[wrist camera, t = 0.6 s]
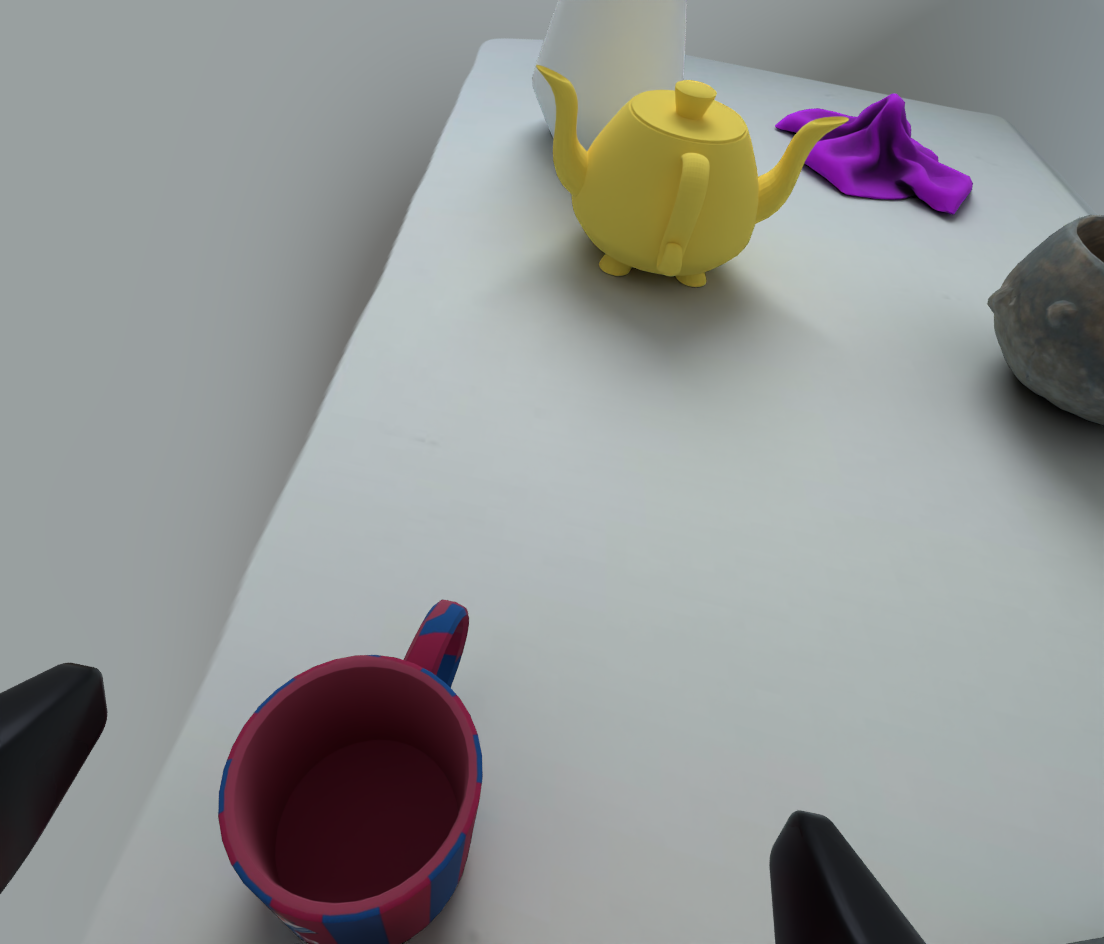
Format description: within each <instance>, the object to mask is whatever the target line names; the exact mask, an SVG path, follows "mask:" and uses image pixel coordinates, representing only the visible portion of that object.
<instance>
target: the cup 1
mask: <svg viewBox="0 0 1104 944" xmlns="http://www.w3.org/2000/svg"><path fill="white" fill-rule="evenodd" d="M468 627H469V616H468V611H467V609H466V608H465V607H463V606H462V605H460V604H458V603H457V602H453V601H448V600H441V601H440V602H438V603H437V604H435V605H434V606H433V607H432V608H431V610H430V611H429V612H428V614H427V616H426V617H425V619H424V621H423V622H422V624H421V626H420V628H419V630H418V632H417V633H416V635H415V637H414V639H413V641H412V643H411V645H410V647H409V649H408V651H407V654H406V656H405V658H404V660H402V659H398V658H394V657H387V656H379V655H360V656H351V657H346V658H340V659H335V660H332V661H329V662H326V663H323V664H320V665H317V666H315V667H313V668H311V669H309V670H307V671H305V672H303V673H301V674H299V675H297V676H295V677H294V678H292V679H291V680H290V681H288V682H287V683H285V684H284V685H283V686H281V687H280V688H278V689H277V690H276V691H275V692H274V693H273V694H272V695H270V696H269V697H268V698H267V699H266V700H265V701H264V702H263V703H262V704H261V705H260V706H259V707H258V708H257V710H256V711H255V712H254V714H253V715H252V716H251V717H250V719H249V720H248V721H247V722H246V724H245V725H244V727H243V729H242V730H241V732H240V734H239V736H238V737H237V739H236V741H235V743H234V744H233V746H232V749H231V752H230V754H229V757H228V759H227V762H226V765H225V767H224V771H223V776H222V781H221V786H220V791H219V812H218V818H219V824H220V830H221V836H222V842H223V844H224V847H225V850H226V852H227V855H228V858H229V860H230V863H231V865H232V866H233V868H234V869H235V871H236V872H237V874H238V875H239V877H240V878H241V880H242V882H243V883H244V884H245V885H246V886H247V887H248V888H249V889H250V890H251V891H252V892H253V893H254V894H255V895H256V896H257V897H258V898H259V899H260V900H261V901H262V902H263V903H264V904H265V905H266V906H267V907H268V908H269V909H270V910H271V911H272V912H274V913H275V914H276V915H277V916H278V917H279V918H280V919H281V920H282V921H283V922H284V923H285V924H286V925H287V926H288V927H289V928H290V929H291V930H292V931H293V932H294V933H295V934H296V935H297V936H298V937H299V938H301V939H302V940H304V941H305V942H307V943H309V944H401V943H403V942H405V941H407V940H409V939H411V938H412V937H413V936H415V935H416V934H417V933H418V932H420V931H421V930H422V929H424V928H425V927H426V926H427V925H428V924H429V923H430V922H431V921H432V920H433V919H434V918H435V917H436V916H437V915H438V914H439V913H440V912H441V911H442V909H443V908H444V906H445V905H446V903H447V902H448V900H449V899H450V897H451V896H452V894H453V893H454V891H455V889H456V886H457V884H458V882H459V880H460V878H461V876H462V873H463V870H464V867H465V863H466V860H467V857H468V852H469V847H470V843H471V838H472V833H473V828H474V823H475V819H476V814H477V809H478V804H479V799H480V792H481V784H482V777H483V776H482V753H481V748H480V743H479V738H478V734H477V731H476V729H475V726H474V724H473V721H472V719H471V716H470V714H469V712H468V711H467V709H466V708H465V706H464V704H463V703H462V701H461V700H460V698H459V697H458V696H457V695H456V694H455V693H454V691H453V690H452V689H451V685H452V682H453V680H454V677H455V674H456V671H457V669H458V666H459V663H460V659H461V656H462V653H463V649H464V646H465V642H466V638H467V633H468Z"/></svg>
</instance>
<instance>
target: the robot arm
mask: <svg viewBox="0 0 1104 944" xmlns="http://www.w3.org/2000/svg"><path fill="white" fill-rule="evenodd" d="M106 720H107V706H106V699H105V691H104V685H103V677H102V674H101V672H100V671H99V670H98V669H97V668H94V667H89V666H84V665H80V664H74V663H63V664H60V665H57V666H55V667H53V668H51V669H49V670H47V671H45V672H43V673H41V674H39V675H37V676H35V677H33V678H30V679H28V680H26V681H24V682H22V683H20V684H18V685H16V686H14V687H12V688H10V689H8V690H7V691H4V692H2V693H0V894H1V892H2V891H3V890H4V889H5V887H6V886H7V884H8V883H9V882H10V880H11V879H12V878H13V876H14V875H15V873H16V872H17V871H18V869H19V868H20V866H21V865H22V863H23V862H24V860H25V859H26V858H27V856H28V855H29V853H30V852H31V850H32V848H33V847H34V845H35V844H36V842H37V841H38V839H39V837H40V836H41V834H42V833H43V831H44V829H45V828H46V826H47V824H48V823H49V821H50V819H51V817H52V816H53V814H54V813H55V811H56V809H57V808H58V806H59V804H60V802H61V801H62V799H63V797H64V796H65V794H66V792H67V791H68V789H69V787H70V786H71V784H72V782H73V781H74V779H75V777H76V776H77V774H78V772H79V771H80V769H81V767H82V766H83V764H84V762H85V761H86V759H87V757H88V755H89V754H90V752H91V750H92V749H93V747H94V745H95V744H96V742H97V740H98V739H99V737H100V735H101V733H102V731H103V729H104V727H105V724H106ZM770 879H771V893H772V906H773V919H774V932H775V944H926V943H925V942H924V940H923V939H922V938H921V937H920V935H919V934H918V933H917V931H916V930H915V929H914V927H913V926H912V925H911V924H910V922H909V921H908V920H907V918H906V917H905V916H904V915H903V913H902V912H901V911H900V909H899V908H898V907H897V905H896V904H895V903H894V902H893V900H892V899H891V898H890V896H889V895H888V894H887V892H886V891H885V890H884V889H883V887H882V886H881V885H880V883H879V882H878V881H877V880H876V878H875V877H874V876H873V874H872V873H871V872H870V870H869V869H868V868H867V867H866V865H865V864H864V863H863V861H862V860H861V859H860V857H859V856H858V855H857V854H856V852H855V851H854V850H853V848H852V847H851V846H850V845H849V843H848V842H847V841H846V839H845V838H844V837H843V835H842V834H841V833H840V832H839V830H838V829H837V828H836V826H835V825H834V824H833V823H832V821H830V820H829V819H828V818H827V817H825V816H823V815H820V814H815V813H810V812H805V811H795V812H794V813H792V814H791V816H790V817H789V819H788V821H787V822H786V824H785V826H784V828H783V829H782V831H781V833H780V835H779V836H778V838H777V840H776V842H775V843H774V845H773V847H772V850H771V854H770Z"/></svg>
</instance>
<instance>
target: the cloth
mask: <svg viewBox="0 0 1104 944" xmlns="http://www.w3.org/2000/svg"><path fill="white" fill-rule="evenodd" d="M904 107H905V102H904V101H903V100H902V99H901V98H900V97H899V96H898V95H897V94H891V95H889V96H887V97H886V98H884V99H882V100H880V101H878V102H876V103H874V104H871V105H870V106H869V107H867V108H866V109H864V110H863V111H862V112H861V113H860V115H859V116H858V117H853V116H848V115H844V114H841V113H837V112H833V111H828V110H824V109H819V108H816V109H806V110H801V111H798V112H795V113H792V114H789V115H787V116H786V117H785V118H783V119H782V120H781V121H780V122H779V123H777V124H776V125H775V127H776V128H778V129H782V130H788V131H792V132H796V133H797V132H798V131H799V130H800V129H801V128H802V127H803V126H804V125H806V124H807V123H809V122H810V121H813V120H816V119H819V118H825V117H847V118H849V120H848V121H847V122H846V123H844V124H842V125H841V126H838V127H837V128H835V129H833V130H832V131H830V132H828V133H827V134H825V135H824V136H823V137H822V138H821V139H820V140H819V141H818V142H817V143H816V144H815V146H814V147H813V149H812V150H811V151H810V153H809V155H808V157H807V159H806V161H805V164H806V165H808V166H809V167H811V168H812V169H813V170H815V171H816V172H818V173H819V174H821V175H822V176H823V177H825V178H826V179H827V180H829V181H830V182H831V183H832V184H833V185H835V186H836V187H837V188H838V189H839V190H840V191H841V192H843V193H845V194H846V195H852V196H859V197H867V198H874V199H904V198H908V197H911V196H914V195H917V196H918V198H920V199H922V200H923V201H925V202H926V203H928V204H929V205H930V206H931V207H932V208H933V209H935V210H937V211H942V212H947V213H949V214H952V215H953V214H955V212H956V211H957V209H958V208H959V206H960V205H961V203H962V202H963V201H964V200H965V198H966V197H967V195H968V194H969V193H970V192H971V190H972V185H973V183H972V181H971V178H970V176H967V175H965V174H963V173H961V172H959V171H957V170H955V169H952V168H950V167H948V166H946V165H944V164H941V163H939V162H938V156H937V155H936V154H935V153H934V152H933V151H932V150H930V149H927V148H925V147H923V146H922V145H921V144H919V143H918V142H917V141H915V140H914V139H912V138H911V125H910V123H909V122H908V121H907V119H906V114H905V108H904Z"/></svg>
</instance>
